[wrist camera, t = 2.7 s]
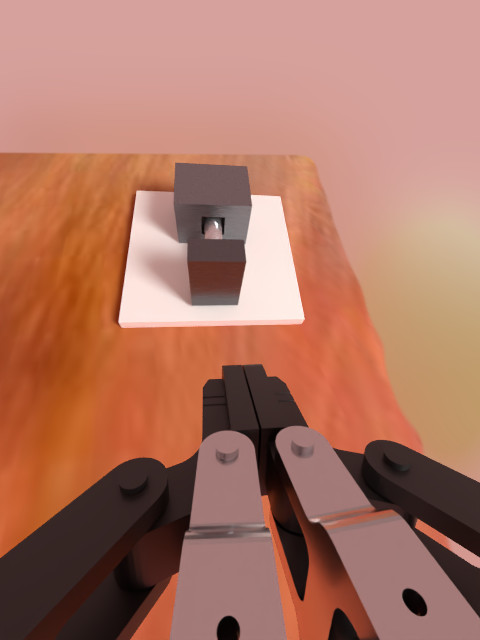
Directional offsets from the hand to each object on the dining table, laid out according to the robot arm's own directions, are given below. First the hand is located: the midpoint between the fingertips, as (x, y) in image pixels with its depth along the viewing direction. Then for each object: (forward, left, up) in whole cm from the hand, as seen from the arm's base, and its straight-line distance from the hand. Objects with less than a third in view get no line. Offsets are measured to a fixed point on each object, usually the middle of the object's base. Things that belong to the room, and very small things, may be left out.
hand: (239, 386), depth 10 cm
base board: (0, +25, -23) cm, 34 cm away
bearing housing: (0, +30, -21) cm, 37 cm away
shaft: (0, +25, -21) cm, 33 cm away
